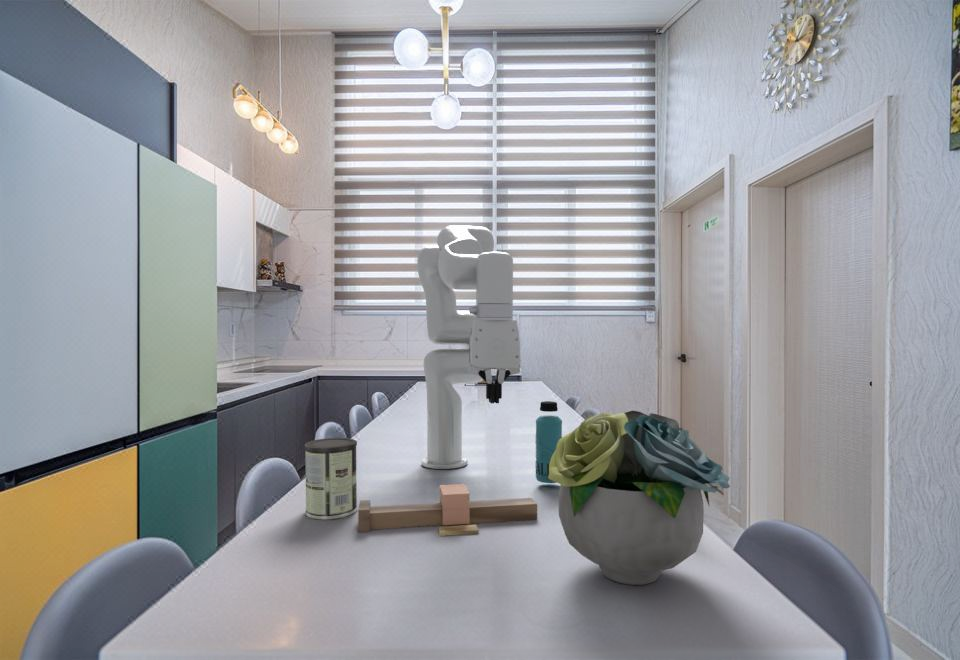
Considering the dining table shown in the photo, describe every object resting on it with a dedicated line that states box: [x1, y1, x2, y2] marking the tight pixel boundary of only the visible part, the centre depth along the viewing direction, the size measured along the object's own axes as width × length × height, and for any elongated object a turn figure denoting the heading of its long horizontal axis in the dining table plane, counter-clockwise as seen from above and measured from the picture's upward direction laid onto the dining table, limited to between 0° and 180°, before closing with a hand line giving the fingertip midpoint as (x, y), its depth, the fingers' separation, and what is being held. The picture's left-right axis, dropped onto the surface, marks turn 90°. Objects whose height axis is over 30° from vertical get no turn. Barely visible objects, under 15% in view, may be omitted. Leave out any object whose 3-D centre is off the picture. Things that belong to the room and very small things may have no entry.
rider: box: [439, 483, 471, 526], centre depth 108 cm, size 7×5×6 cm
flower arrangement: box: [548, 410, 731, 586], centre depth 84 cm, size 25×25×24 cm
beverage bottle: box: [534, 400, 563, 484], centre depth 132 cm, size 6×7×20 cm
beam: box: [357, 497, 538, 537], centre depth 108 cm, size 15×34×4 cm, turn 100°
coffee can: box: [304, 437, 358, 521], centre depth 114 cm, size 10×10×14 cm
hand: (493, 402), depth 115 cm, fingers closed
